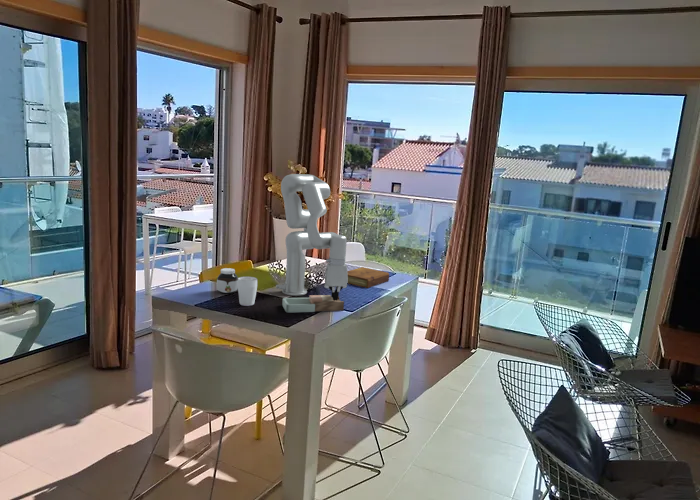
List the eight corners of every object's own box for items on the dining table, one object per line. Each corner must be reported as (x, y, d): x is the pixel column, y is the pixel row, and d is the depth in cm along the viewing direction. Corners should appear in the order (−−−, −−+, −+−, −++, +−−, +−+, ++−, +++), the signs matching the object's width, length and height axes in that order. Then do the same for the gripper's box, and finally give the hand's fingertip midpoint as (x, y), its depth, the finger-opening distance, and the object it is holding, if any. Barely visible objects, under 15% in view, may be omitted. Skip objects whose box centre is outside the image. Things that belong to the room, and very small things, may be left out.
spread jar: (215, 294, 262) (215, 270, 260) (221, 288, 273) (221, 265, 271) (239, 295, 262) (240, 272, 259) (244, 289, 273) (245, 267, 270)
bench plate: (314, 311, 245) (314, 302, 244) (309, 305, 254) (310, 296, 253) (343, 310, 249) (344, 301, 249) (338, 304, 258) (338, 296, 257)
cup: (257, 301, 254) (258, 277, 252) (255, 307, 245) (256, 281, 243) (238, 300, 254) (239, 275, 251) (235, 306, 245) (236, 280, 242)
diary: (367, 289, 293) (368, 279, 292) (339, 282, 303) (340, 273, 302) (388, 282, 312) (389, 272, 310) (361, 276, 322) (362, 266, 320)
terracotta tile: (311, 303, 246) (311, 298, 246) (309, 300, 251) (309, 295, 250) (322, 303, 248) (322, 298, 247) (319, 300, 252) (319, 295, 252)
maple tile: (322, 303, 248) (322, 298, 247) (319, 300, 252) (319, 295, 252) (332, 303, 249) (332, 298, 249) (329, 300, 254) (330, 295, 253)
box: (286, 312, 240) (286, 305, 240) (282, 305, 251) (282, 298, 250) (314, 311, 244) (315, 304, 244) (309, 304, 255) (309, 297, 254)
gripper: (323, 263, 243) (321, 302, 246) (354, 263, 247) (352, 301, 251) (319, 259, 250) (317, 297, 253) (350, 260, 254) (347, 297, 258)
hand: (334, 299), depth 252 cm, fingers closed
